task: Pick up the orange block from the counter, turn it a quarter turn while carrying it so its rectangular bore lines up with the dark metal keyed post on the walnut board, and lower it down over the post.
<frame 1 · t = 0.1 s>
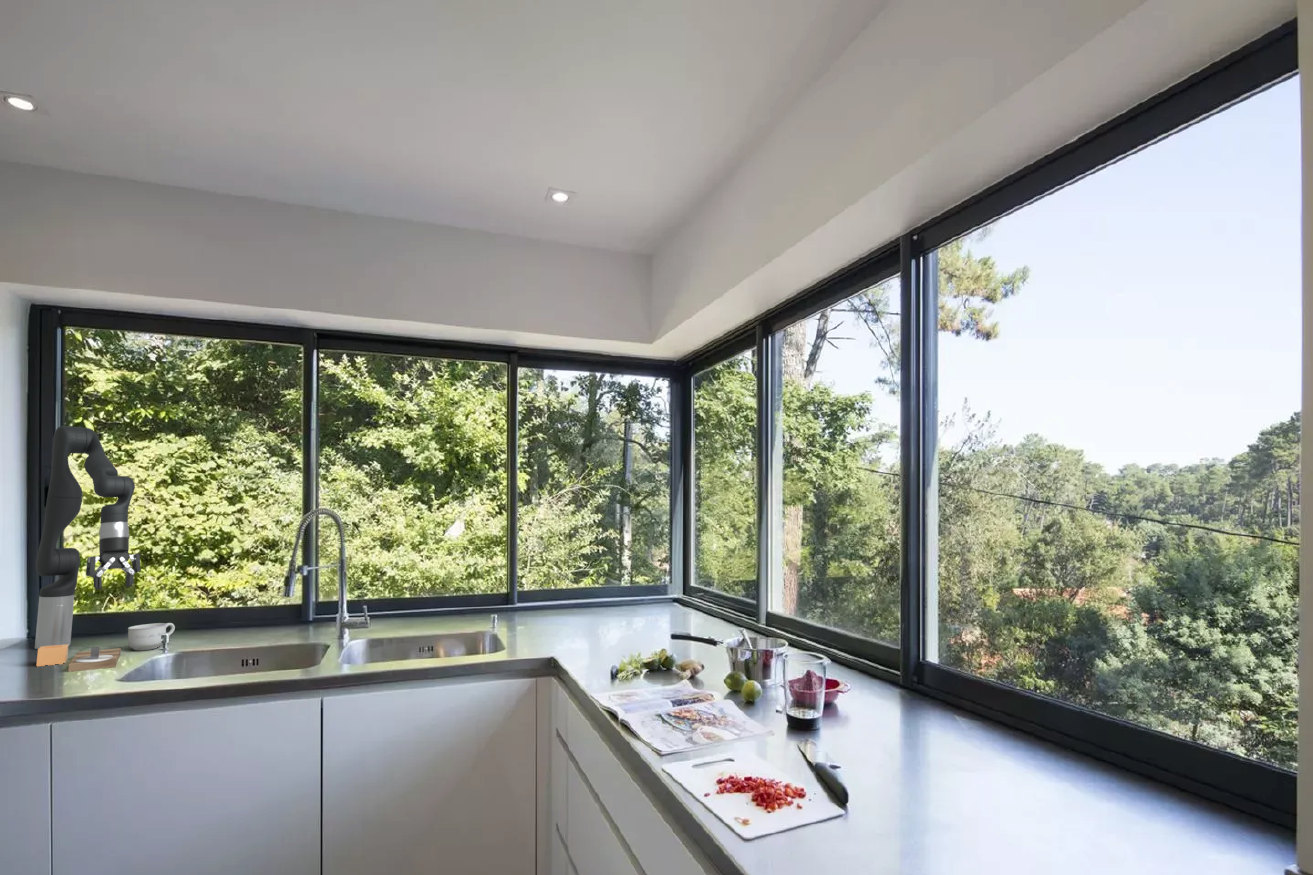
hand: (113, 587, 225), 22 cm above the worktop, tool pointing down, fingers open, 8 cm apart
orange block: (52, 663, 216), on the worktop
teacup: (151, 648, 240), on the worktop
shaft board: (95, 662, 218), on the worktop
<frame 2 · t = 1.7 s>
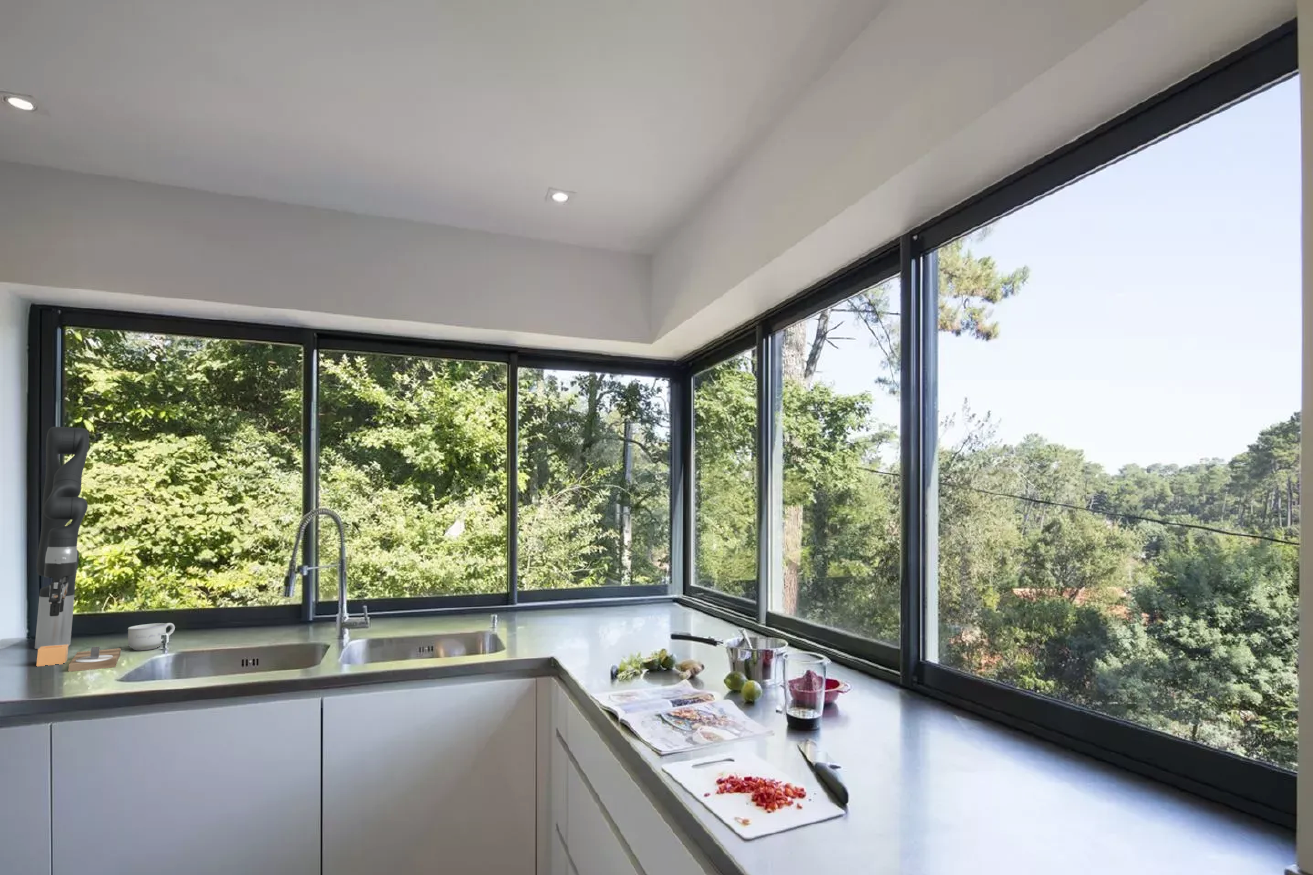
hand: (56, 614, 218), 15 cm above the worktop, tool pointing down, fingers open, 8 cm apart
nothing on the worktop moved.
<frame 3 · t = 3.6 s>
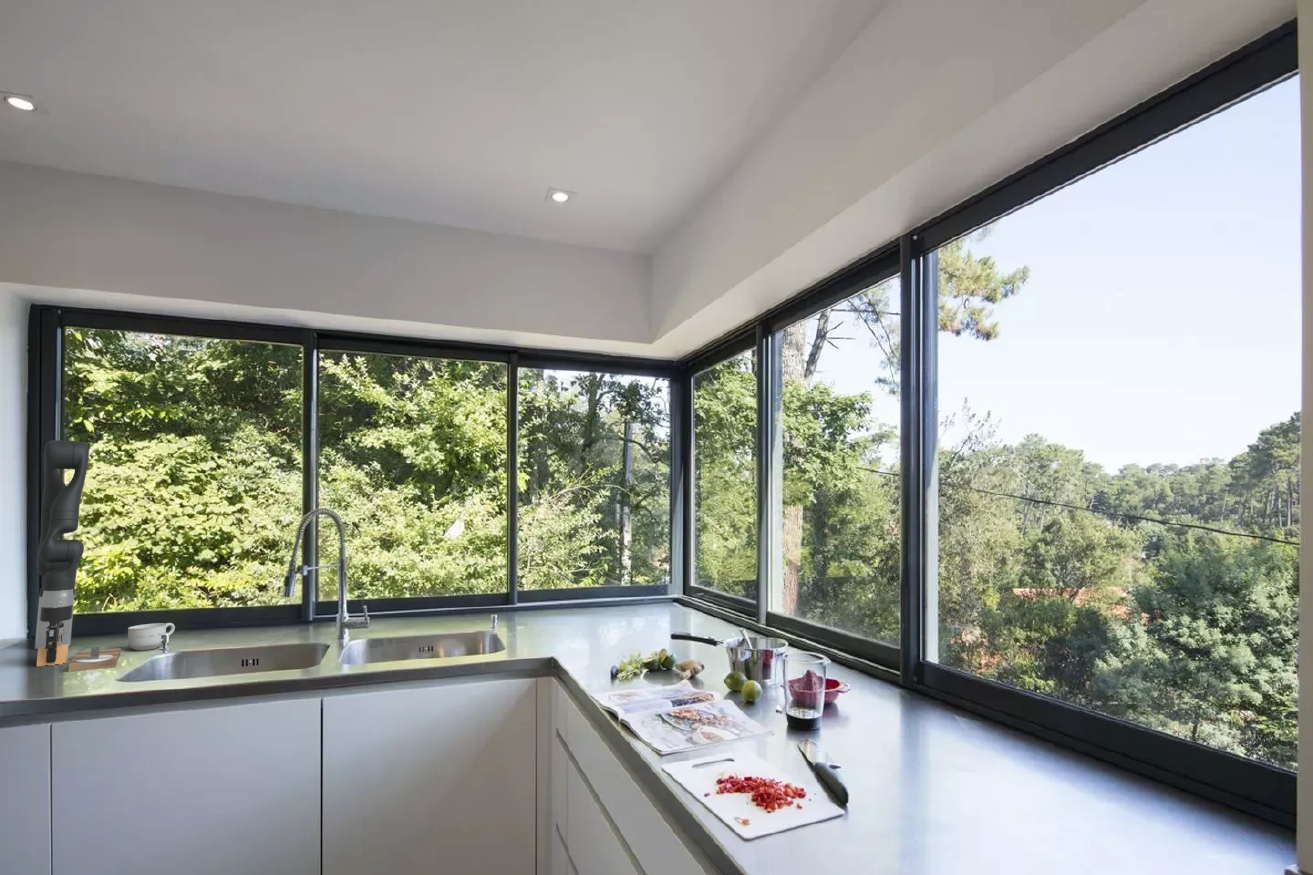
hand: (52, 660, 216), 1 cm above the worktop, tool pointing down, fingers closed on orange block, 5 cm apart
orange block: (52, 663, 216), on the worktop, touching gripper
everything else where it was.
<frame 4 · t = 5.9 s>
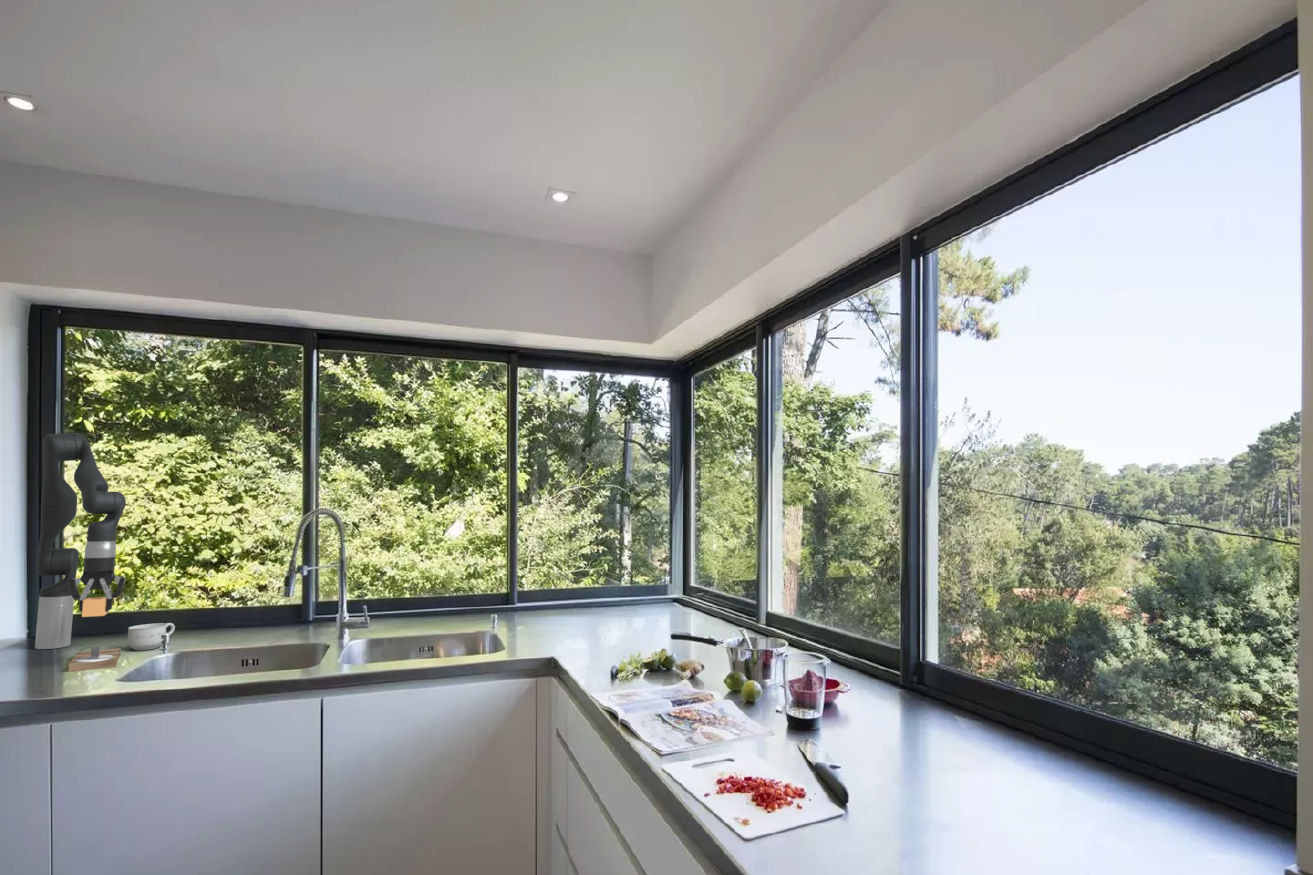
hand: (95, 611, 216), 16 cm above the worktop, tool pointing down, fingers closed on orange block, 5 cm apart
orange block: (95, 614, 215), point 15 cm above the worktop, touching gripper
everything else where it was.
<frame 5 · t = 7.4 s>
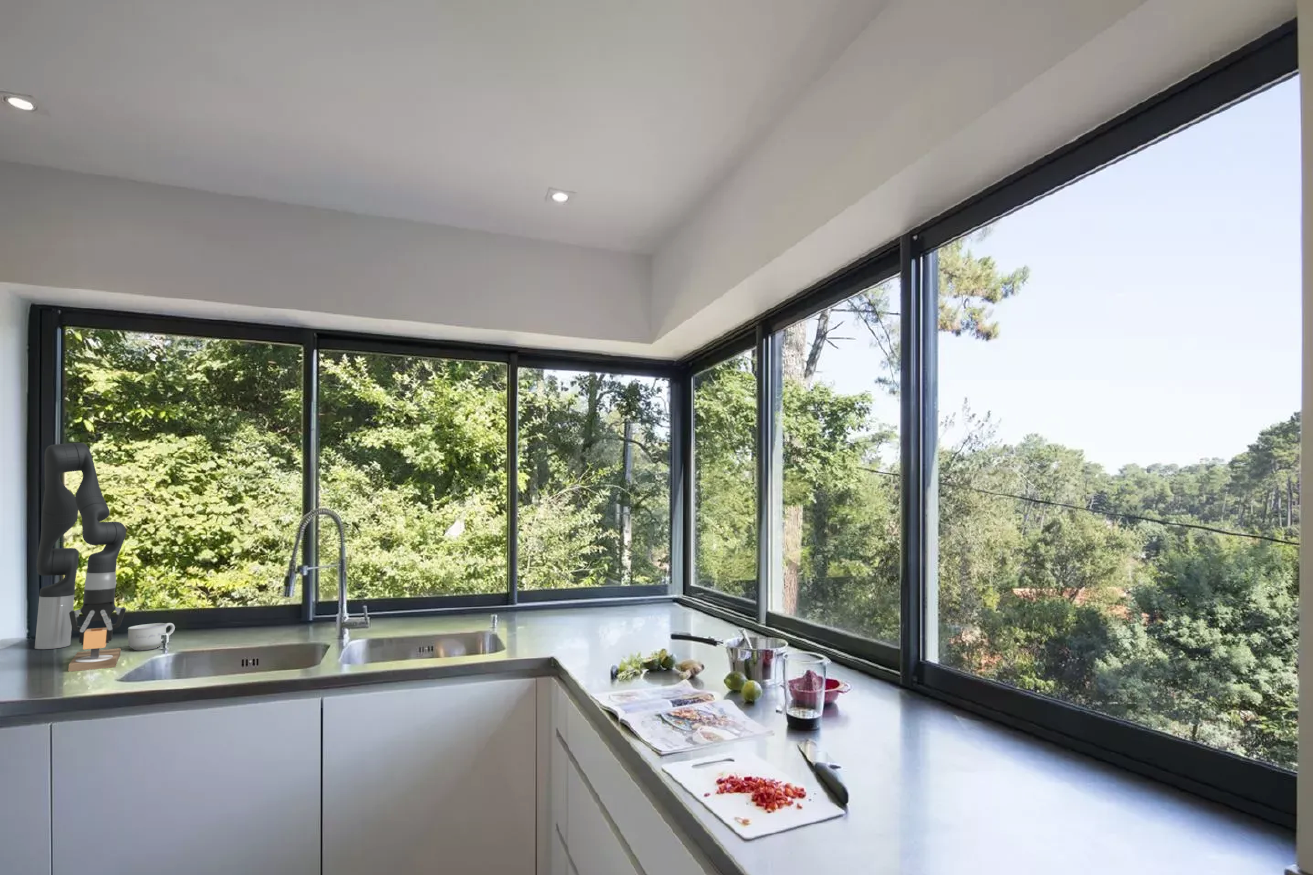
hand: (95, 643, 215), 7 cm above the worktop, tool pointing down, fingers closed on orange block, 5 cm apart
orange block: (95, 646, 214), point 6 cm above the worktop, touching gripper
everything else where it was.
when the fingers open (4 cm above the worktop, at t = 8.5 s): orange block stays where it is, resting on shaft board.
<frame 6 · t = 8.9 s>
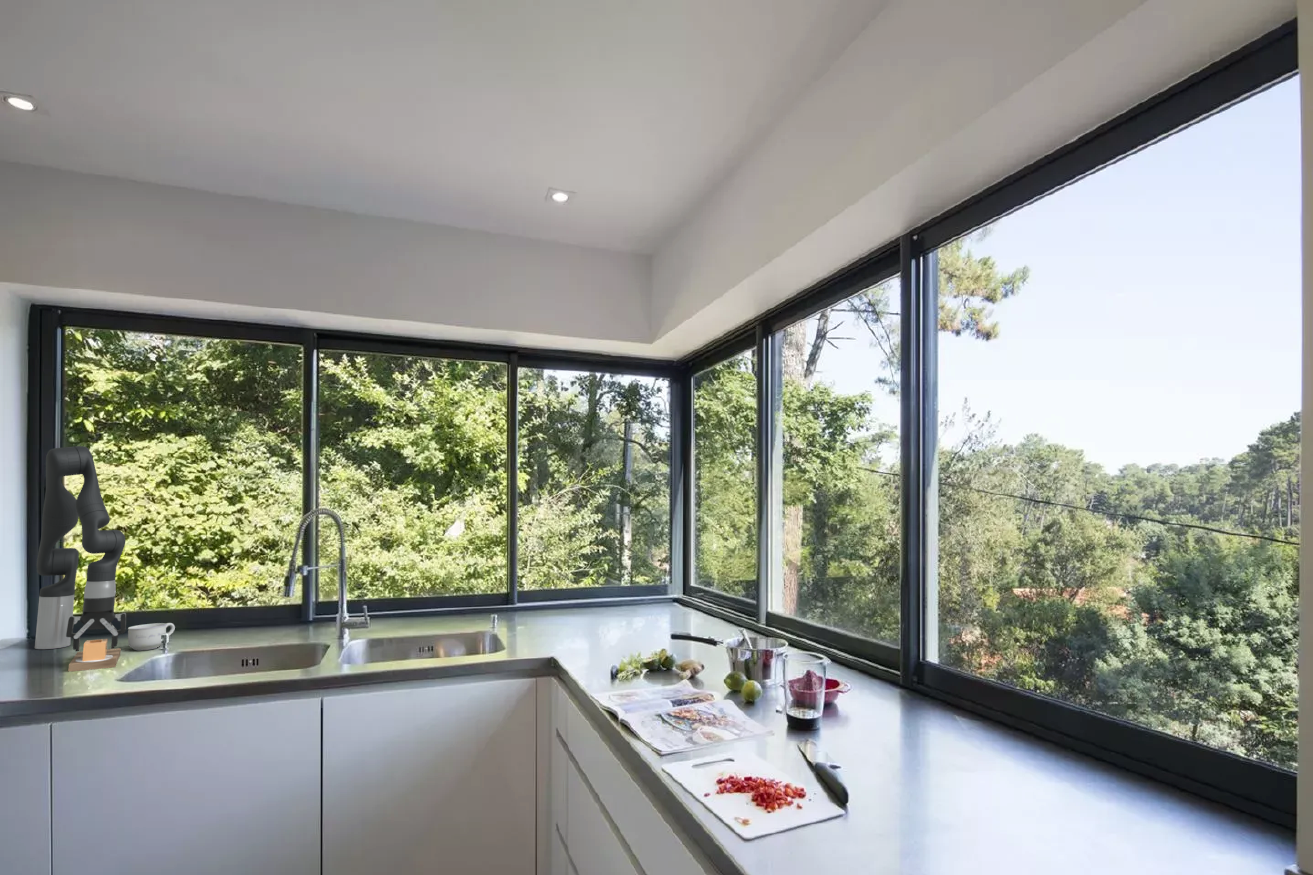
hand: (95, 649, 214), 5 cm above the worktop, tool pointing down, fingers open, 8 cm apart
orange block: (94, 658, 214), point 2 cm above the worktop, touching shaft board
everything else where it was.
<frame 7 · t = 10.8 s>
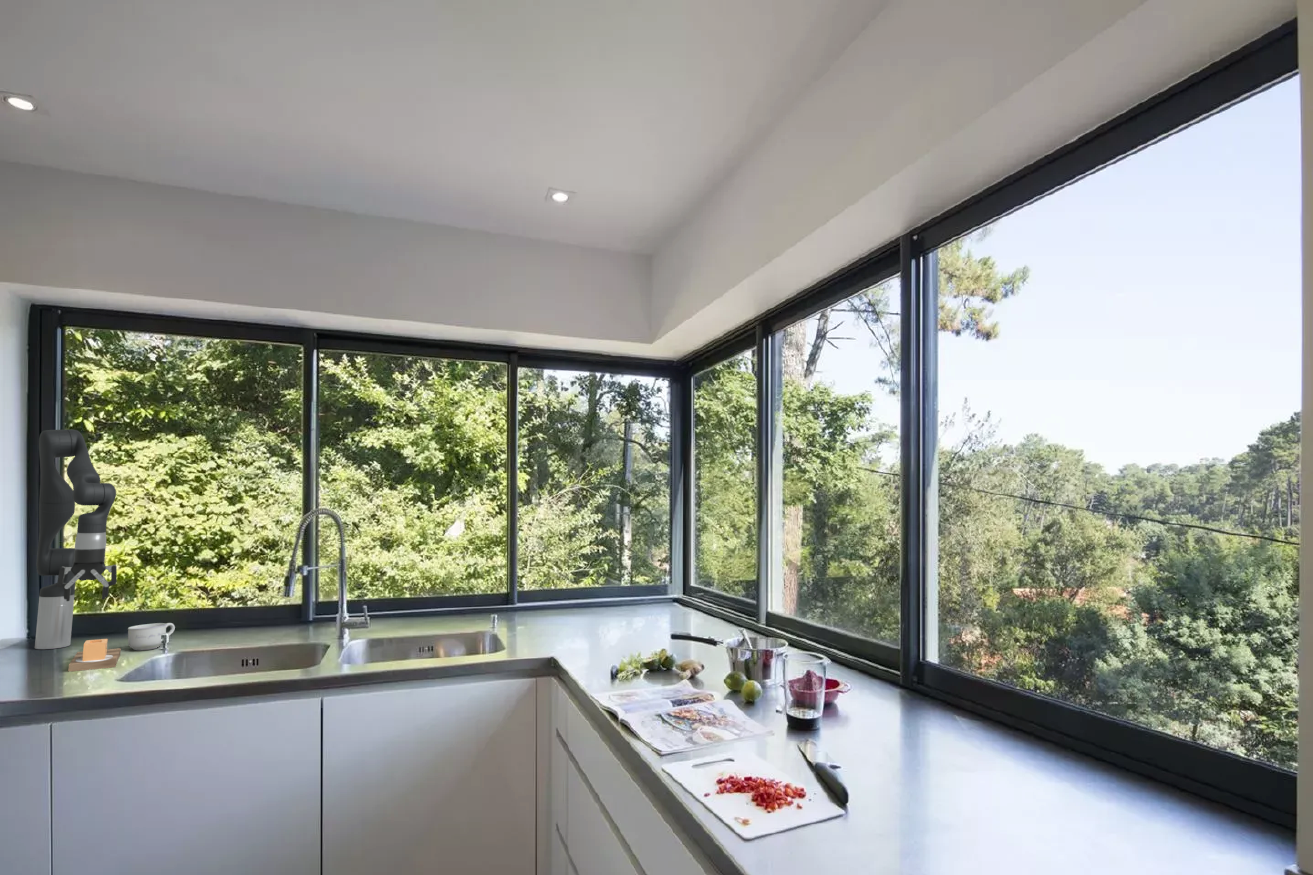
hand: (86, 599, 217), 20 cm above the worktop, tool pointing down, fingers open, 8 cm apart
nothing on the worktop moved.
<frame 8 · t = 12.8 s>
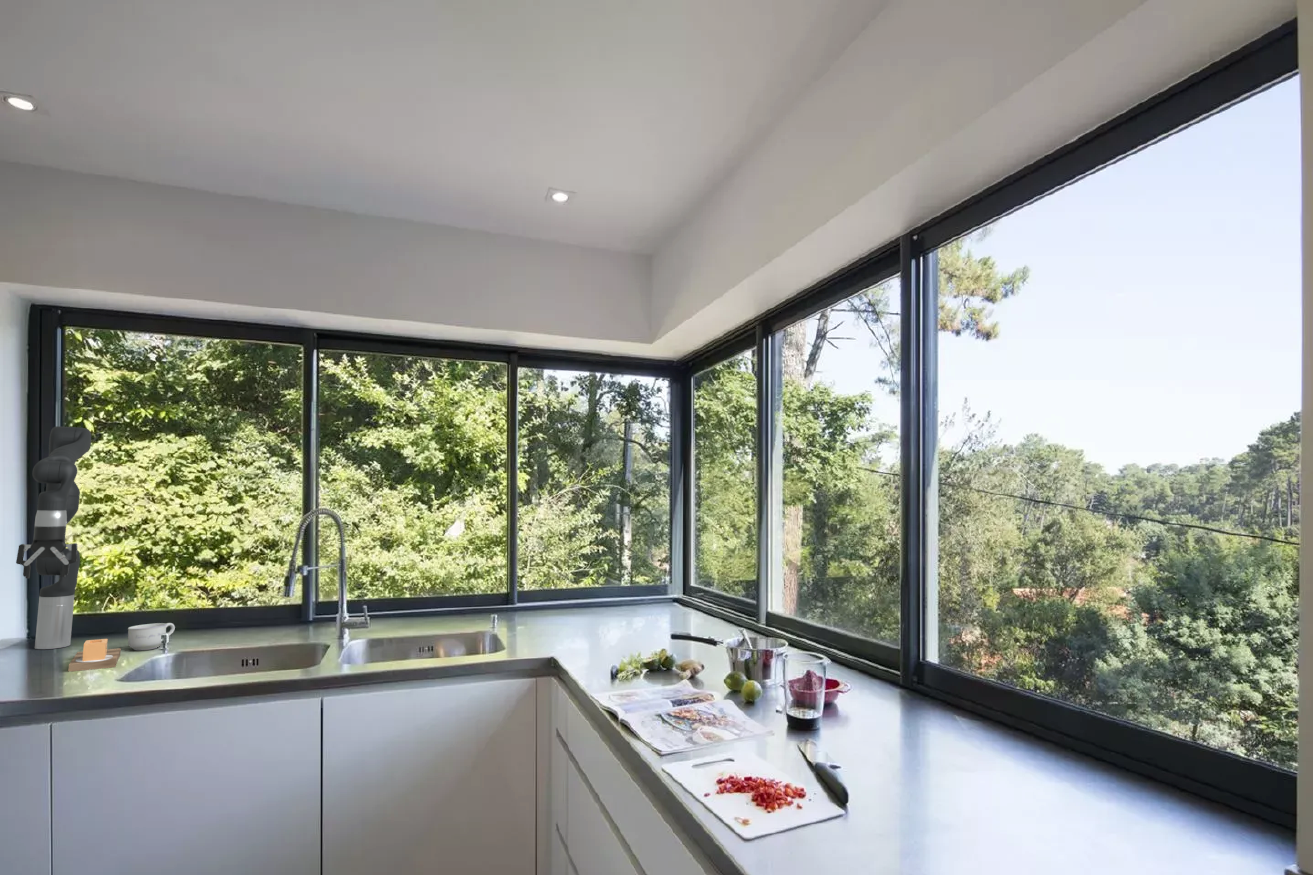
hand: (45, 577, 218), 26 cm above the worktop, tool pointing down, fingers open, 8 cm apart
nothing on the worktop moved.
at the end: orange block 0.0 cm from the target spot on the shaft board, point 2.3 cm above the shaft board's base; orange block tilted 0°; the gripper is holding nothing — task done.
